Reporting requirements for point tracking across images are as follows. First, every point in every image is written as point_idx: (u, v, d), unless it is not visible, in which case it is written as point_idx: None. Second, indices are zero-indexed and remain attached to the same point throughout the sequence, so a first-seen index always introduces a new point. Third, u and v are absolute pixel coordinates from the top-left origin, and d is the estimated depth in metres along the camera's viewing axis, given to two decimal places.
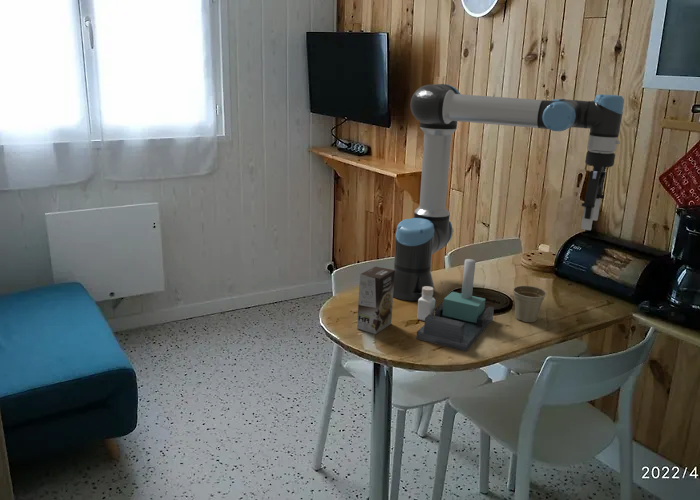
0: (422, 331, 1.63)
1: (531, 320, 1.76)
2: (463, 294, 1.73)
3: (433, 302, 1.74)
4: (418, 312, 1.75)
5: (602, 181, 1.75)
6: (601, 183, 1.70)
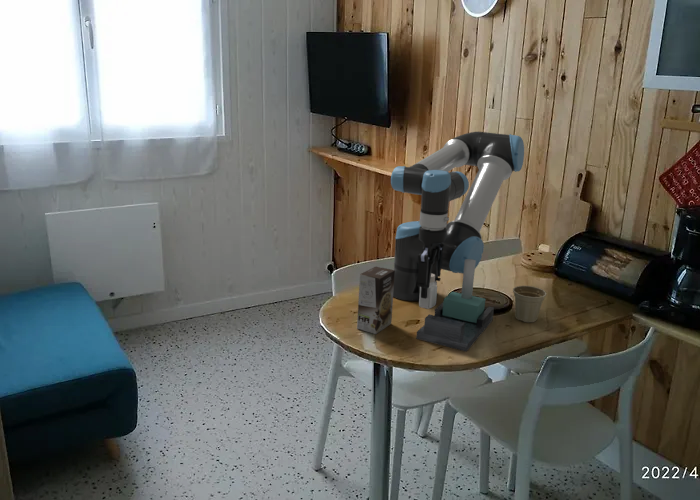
0: (422, 331, 1.63)
1: (531, 320, 1.76)
2: (463, 294, 1.73)
3: (435, 289, 1.73)
4: None
5: (437, 257, 1.72)
6: (434, 260, 1.69)
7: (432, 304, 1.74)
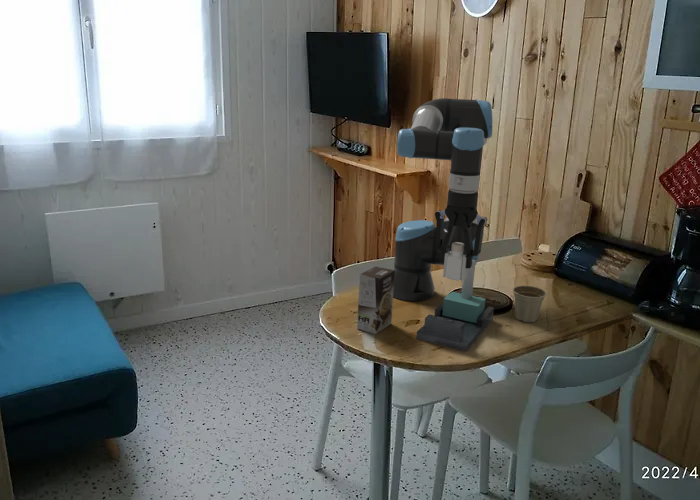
0: (422, 331, 1.63)
1: (531, 320, 1.76)
2: (463, 294, 1.73)
3: (455, 261, 1.57)
4: None
5: None
6: (451, 225, 1.56)
7: (449, 275, 1.59)
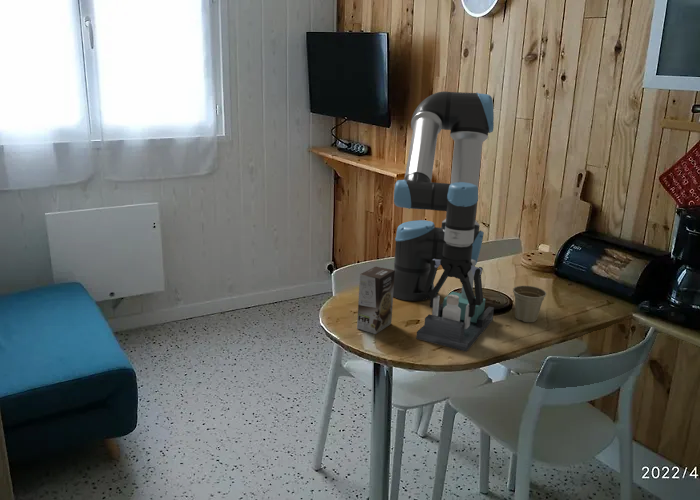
0: (422, 331, 1.63)
1: (531, 320, 1.76)
2: (463, 294, 1.73)
3: (450, 313, 1.62)
4: None
5: None
6: (444, 275, 1.60)
7: None
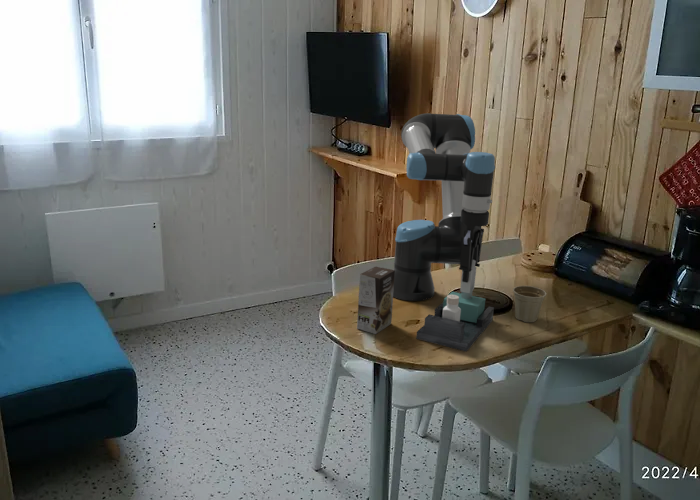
0: (422, 331, 1.63)
1: (531, 320, 1.76)
2: (463, 294, 1.73)
3: (450, 313, 1.62)
4: None
5: (478, 241, 1.69)
6: (476, 243, 1.67)
7: None
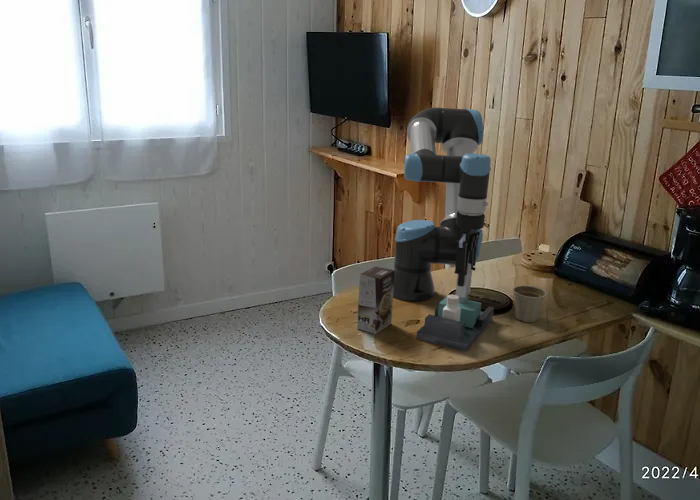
0: (422, 331, 1.63)
1: (531, 320, 1.76)
2: None
3: (450, 313, 1.62)
4: None
5: (473, 244, 1.66)
6: (472, 246, 1.64)
7: None
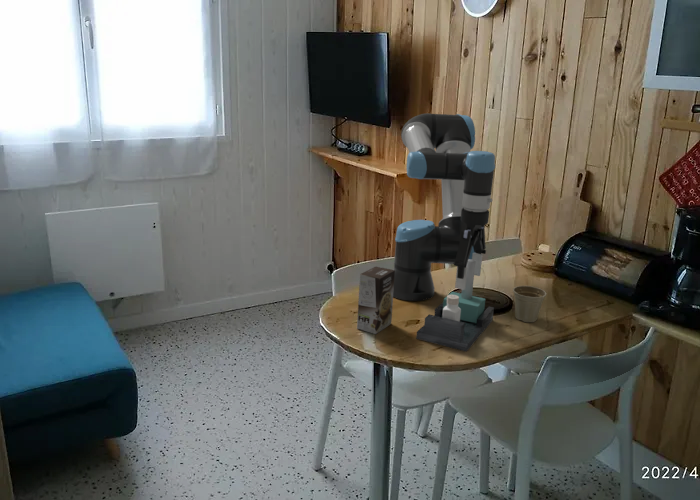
0: (422, 331, 1.63)
1: (531, 320, 1.76)
2: (463, 294, 1.73)
3: (450, 313, 1.62)
4: None
5: (479, 238, 1.70)
6: (475, 241, 1.66)
7: None
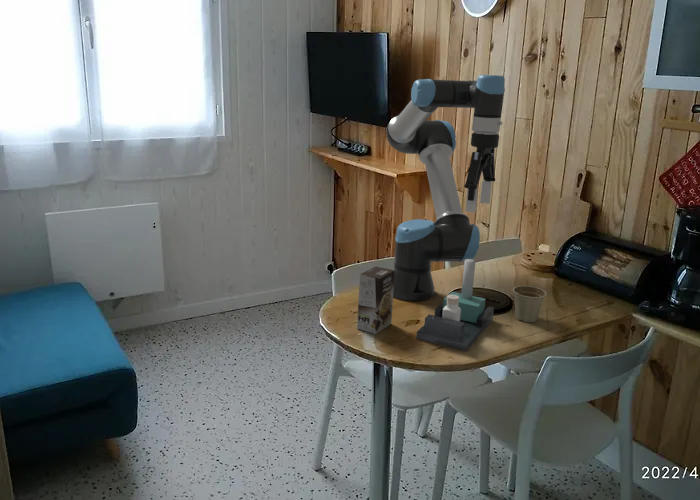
0: (422, 331, 1.63)
1: (531, 320, 1.76)
2: (463, 294, 1.73)
3: (450, 313, 1.62)
4: None
5: (489, 163, 1.73)
6: (485, 165, 1.68)
7: None
